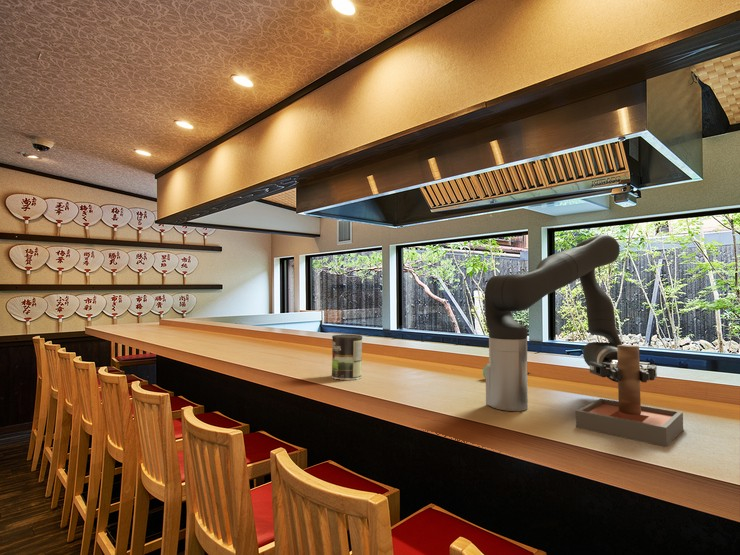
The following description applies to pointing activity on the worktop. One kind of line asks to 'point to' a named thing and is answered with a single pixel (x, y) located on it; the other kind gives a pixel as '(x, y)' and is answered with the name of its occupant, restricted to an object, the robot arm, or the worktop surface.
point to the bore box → (631, 422)
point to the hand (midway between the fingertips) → (631, 376)
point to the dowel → (629, 379)
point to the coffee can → (346, 357)
